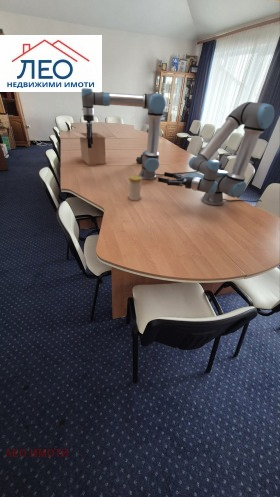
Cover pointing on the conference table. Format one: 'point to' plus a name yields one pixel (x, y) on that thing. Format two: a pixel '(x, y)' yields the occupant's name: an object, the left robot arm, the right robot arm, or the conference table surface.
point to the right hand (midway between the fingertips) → (161, 176)
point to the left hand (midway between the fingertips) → (90, 146)
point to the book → (194, 175)
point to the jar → (134, 190)
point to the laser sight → (139, 159)
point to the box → (93, 147)
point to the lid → (135, 178)
